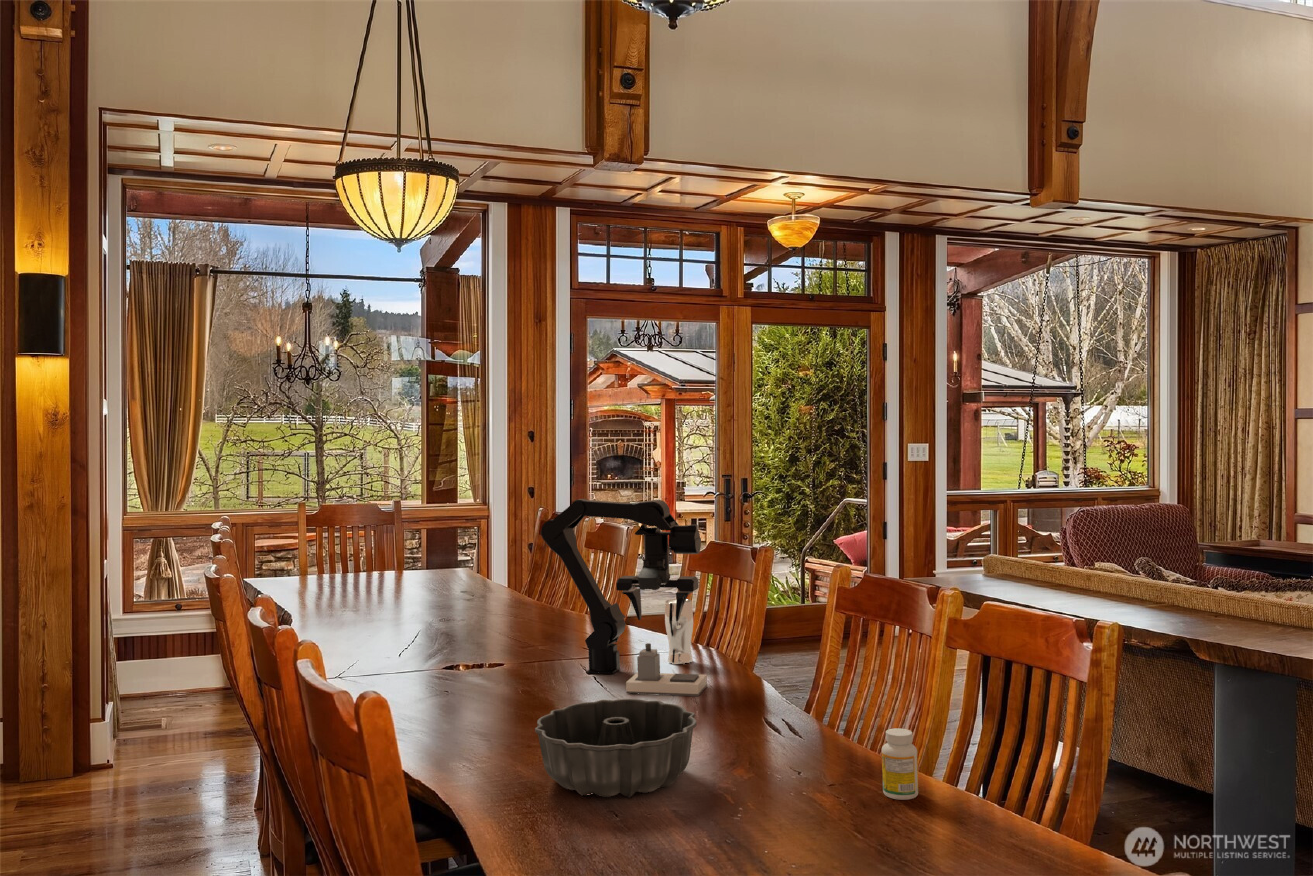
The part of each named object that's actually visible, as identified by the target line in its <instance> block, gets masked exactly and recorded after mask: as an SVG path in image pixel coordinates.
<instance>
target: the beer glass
mask: <svg viewBox="0 0 1313 876" xmlns="http://www.w3.org/2000/svg"><path fill="white" fill-rule="evenodd" d="M676 600H677V599H676V598H675V599H674V598H673V599H668V600H665V601H664V603H665V604H664V625H665V631H666V635H667V640H668V648H669V649H668V659H667V662H669V663H668V664H670V663H672V664H671V665H675V664H683V665H686V664H685V663H689V662H692V661H693V660H694V659H693V655H692V649H691V647H692V636H693V630H694V609H693V601H692V599H687V598H686V601H685V603H684V606H683V609H682V612H681V615H680V618H679V620H678V621H676ZM693 662H694V661H693ZM693 662H692V663H693ZM689 664H690V663H689Z"/></svg>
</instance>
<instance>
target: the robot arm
mask: <svg viewBox="0 0 1313 876" xmlns="http://www.w3.org/2000/svg"><path fill="white" fill-rule="evenodd" d="M670 511H671V510H670V507H669V505H668V504H667V502H666V501H664V500H662V499H653V500H643V501H639V502H623V501H622V502H621V501H609V500H594V499H593V500H592V499H587V498H579V499H575V500H574V501H573V502H572V503H571V504H570V505H569V506H567V508H565V509H564V510H563V511H562V512H561V513H559V514H558V515H556V517H554V518H553V519H549V520H546V522H544V523H543V525H542V526H541V530H540V537H541V538H542V540H543V541H544V542H545V544H546V545H547V546H548V547H549V549H550V550H551V551H553V553H555V554H556V555H558V557H559V558H560V559H561V561H562V563H563V564H564V566H565V568H566V570H567V571H568V574H569V575H570V578H571V579H572V580H573V583H574V584H575V586H576V588H577V589H578V592H579V594H580V595H581V597H582V598H583V601H584V603H585V605H586V606H587V608H588V611H589V612H588V613H589V617H590V623H591V626H592V628H593V631H592V632H591V633H590V634H589V635H588V636H587V637H586V639H585V640H584V642H585V644H586V646H587V647H586V648H587V649H588V669H587V670H586V674H596V675H597V674H599V675H600V674H601V675H613V674H614V673H616V672H617V671H618V670H619V669H621V666H620V665H621V662H620V659H621V657H620V651H619V650H618V641H619V638H620V636H621V635H622V634H623V633H624V631H625V628H626V620H625V618H626V615H624V613H623V612H622V610H621V608H620V605H619V603H618V602H615V603H613V604H611V603H610V602H609V601H608V600H607V599H606V597H605V596H604V595H603V592H602V590H601V588H600V587H599V585H598V583H597V581H596V580H595V578H594V576H593V573H591V571H590V569H589V567H588V565H587V564H586V562H585V560H584V558H583V556H582V554H581V552H580V550H579V548H578V543H577V536H576V533H575V531H574V529H575V528H576V527H577V526H578V525H579V524H580V523H581V521H582V520H583V519H584V518H585V517H594V518H608V519H609V518H610V519H621V520H622V519H623V520H629V521H633V522H634V523H638V524H641V525H640V527H639V528H638V529H637V530H636V531H635V532H634V535H635V536H643V548H644V549H643V550H644V551H643V552H644V553H643V556H644V559H642V560H643V562H642V568H641V569H640V571H639V573H638V575H623V576H620V577H619V578H618V579H617V580H616V583H615V585H616V587H615V588H616V591H619V592H620V591H621V594H622V595H625V596H627V597H628V599H629V600H630V603H631V604H632V607H633V609H634V612H635V615H636V617H637V621H641V620H642V598H641V597H642V596H641V595H642V594H641V590H642V591H645V590H652V591H656V590H659V589H660V588H663V589H664V588H668V589H669V588H671V589H672V588H673V589H674V588H676V589H677V590H678V591H676V592H675V596H676V598H675V599H677V600H676V621H678V620H679V618H680V615H681V612H682V609H683V606H684V603H685V601H686V599H687V598H688V596H690V595H691V594H692V593H694V592H695V591H696V590H698V589H699V587H700V586H699V578H698V577H697V576H693V575H692V576H691V575H690V576H688V575H687V576H683V575H681V576H680V577H678V578H676V579H671V573H670V561H671V559H670V556H669V553H670V552H669V549H670V551H672V552H673V554H675V555H699V554H700V553H701V549H702V547H701V546H702V537H701V533H700V531H699V526H698V524H690V525H684V524H683V525H679V523H678V522H677V521H676V520H675V518H674V517H673V515H672V514H671V512H670ZM648 526H649V527H648Z"/></svg>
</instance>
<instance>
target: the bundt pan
mask: <svg viewBox="0 0 1313 876" xmlns="http://www.w3.org/2000/svg"><path fill="white" fill-rule="evenodd" d="M695 717H696V713H695V712H692V711H688V710H687V709H686V708H685V706H682V705H679V704H676V703H675V704H674V703H666V702H663V701H661V700H646V699H641V698H622V699H621V698H620V699H600V700H595V701H587V702H579V703H578V702H577V703H573V704H571V705H570V704H569V705H567V706H565V707H563V708H558V709H553V710H551V711H550V713H549V714H545V715H544V716H543V715H542V716H541V717H539V719H537V720H536V721H537V722H536V724H537V727H535V728H534V732H535V733H536V734H537V736H538V741H539V746H540V753H541V758H542V762H543V767H544V769H545V771H546V773H547V775H548V776H549V777H550V778H551V779H552V780H554V781H555V782H557V783H558V785H559V786H561V787H562V788H564V789H566V790H568V789H569V790H570V791H573V790H576V792H577V794H580V795H581V796H583V795H587V794H591V793H593V794H594V795H597V796H599V797H601V796H602V797H601V798H611V796H612V797H615V796H616V795H618V794H621V795H623V796H624V795H625V797H626V796H628V797H627V798H631V797H632V796H633V795H634V794H635V793H636V792H637V793H638V792H639V793H641V792H642V793H641V794H647V793H648V792H649V793H652V792H654V791H656V790H657V789H659V787H662V788H667V787H669V786H671V785H672V784H674V783H675V782H676V781H677V779H678V777H679V776H680V775H681V774H683V772H684V771H685V770H686V768H687V767H688V764H689V761H690V758H691V748H692V739H693V732H694V729H695V728H696V727H697V719H695Z"/></svg>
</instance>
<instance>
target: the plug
mask: <svg viewBox="0 0 1313 876" xmlns="http://www.w3.org/2000/svg"><path fill="white" fill-rule="evenodd" d="M644 645H645V648H642V650H640V651H639V653H638V654H639V655H638V656H637V657H636V660H637V673H638V681H659V680H660V673H661V659H660V656H661V655H660V652H659V653H658V649H657V648H654V649H653V648H652V644H651V643H650V642H649V643H648V642H646V643H644Z"/></svg>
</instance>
